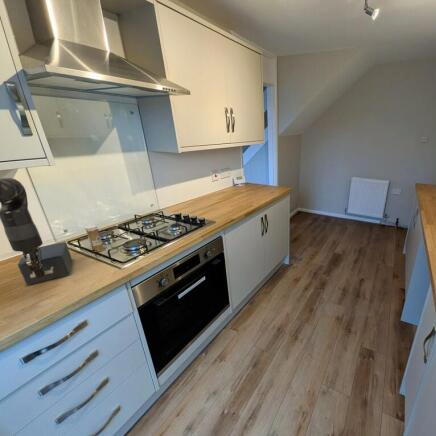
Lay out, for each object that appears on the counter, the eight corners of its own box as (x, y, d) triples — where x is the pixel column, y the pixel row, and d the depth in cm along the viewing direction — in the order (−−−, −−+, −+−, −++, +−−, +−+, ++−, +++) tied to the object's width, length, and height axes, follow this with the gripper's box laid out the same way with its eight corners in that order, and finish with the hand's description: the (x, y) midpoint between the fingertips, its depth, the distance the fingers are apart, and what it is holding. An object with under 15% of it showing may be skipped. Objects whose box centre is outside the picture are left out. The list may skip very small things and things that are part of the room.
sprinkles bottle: (100, 252, 118) (92, 227, 114) (90, 252, 118) (82, 228, 113) (105, 248, 123) (98, 224, 118) (96, 248, 122) (88, 224, 117)
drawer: (65, 279, 96) (59, 263, 93) (25, 290, 89) (17, 272, 86) (69, 260, 109) (64, 245, 106) (34, 268, 102) (27, 253, 100)
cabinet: (69, 274, 100) (62, 255, 97) (27, 285, 93) (17, 264, 90) (72, 260, 111) (65, 241, 108) (34, 268, 104) (26, 249, 101)
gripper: (13, 231, 87) (30, 272, 93) (2, 244, 77) (22, 289, 83) (41, 227, 91) (56, 266, 97) (34, 239, 81) (52, 281, 87)
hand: (41, 276), depth 90 cm, fingers closed
